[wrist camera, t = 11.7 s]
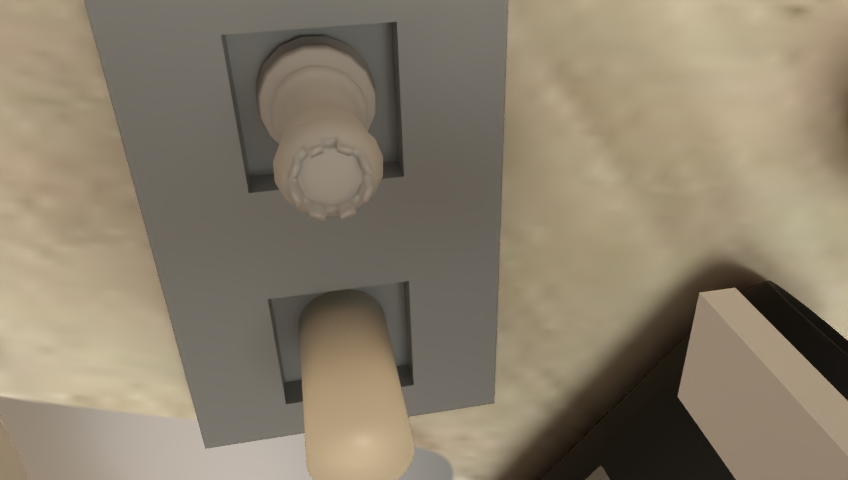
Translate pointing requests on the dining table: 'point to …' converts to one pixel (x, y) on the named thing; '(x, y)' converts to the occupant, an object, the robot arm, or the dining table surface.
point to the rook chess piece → (321, 126)
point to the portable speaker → (669, 419)
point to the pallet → (313, 239)
